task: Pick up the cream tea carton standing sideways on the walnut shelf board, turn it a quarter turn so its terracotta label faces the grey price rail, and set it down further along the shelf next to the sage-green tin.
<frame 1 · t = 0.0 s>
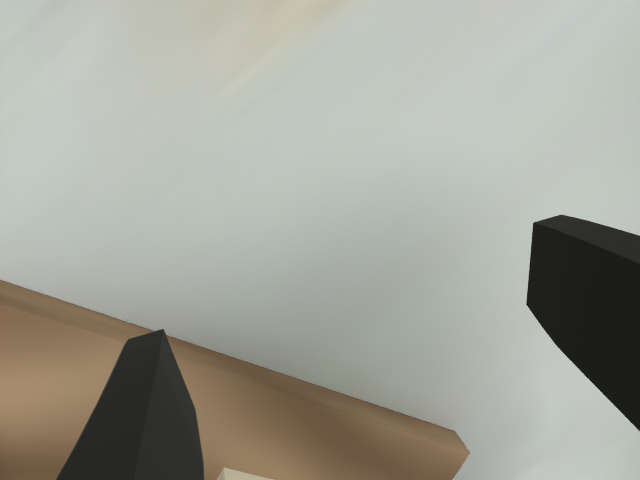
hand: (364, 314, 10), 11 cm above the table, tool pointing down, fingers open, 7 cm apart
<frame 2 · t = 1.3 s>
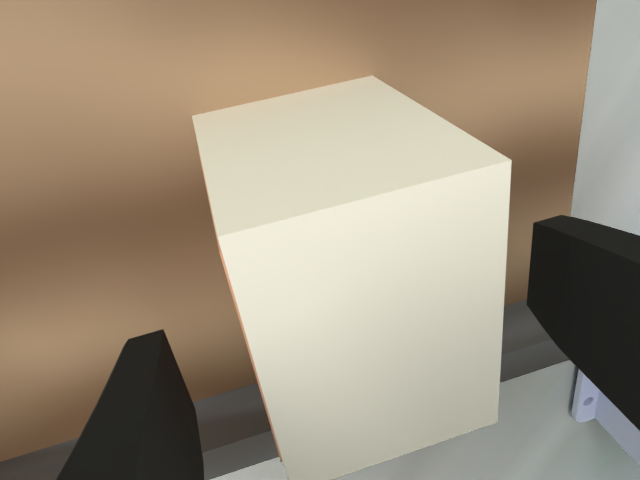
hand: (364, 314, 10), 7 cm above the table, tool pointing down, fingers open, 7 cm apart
tea carton: (222, 225, 14), point 1 cm above the table, touching shelf board
shelf board: (156, 217, 15), on the table
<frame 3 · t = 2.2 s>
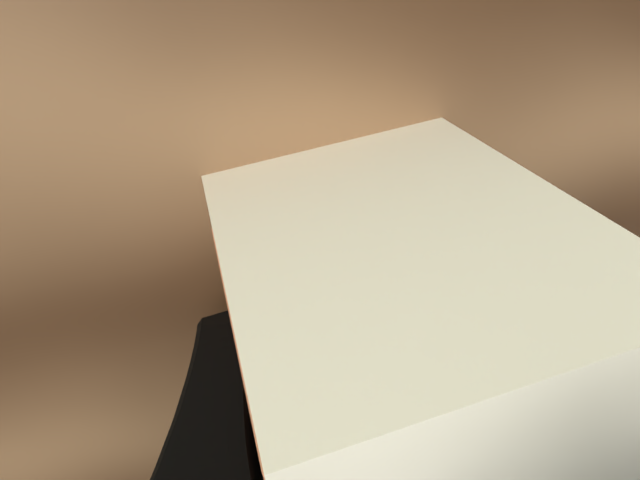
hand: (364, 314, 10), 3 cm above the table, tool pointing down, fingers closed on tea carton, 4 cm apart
tea carton: (240, 310, 11), point 1 cm above the table, touching gripper, shelf board
shelf board: (152, 292, 11), on the table
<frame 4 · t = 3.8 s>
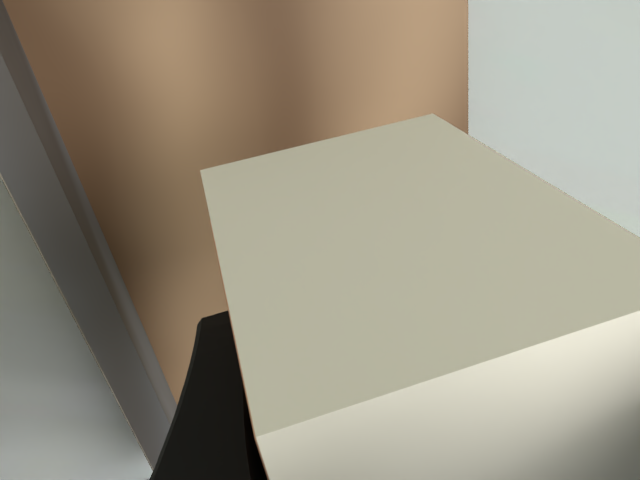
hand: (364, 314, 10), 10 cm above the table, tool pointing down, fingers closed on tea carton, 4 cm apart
tea carton: (238, 301, 11), point 8 cm above the table, touching gripper
shelf board: (261, 132, 18), on the table
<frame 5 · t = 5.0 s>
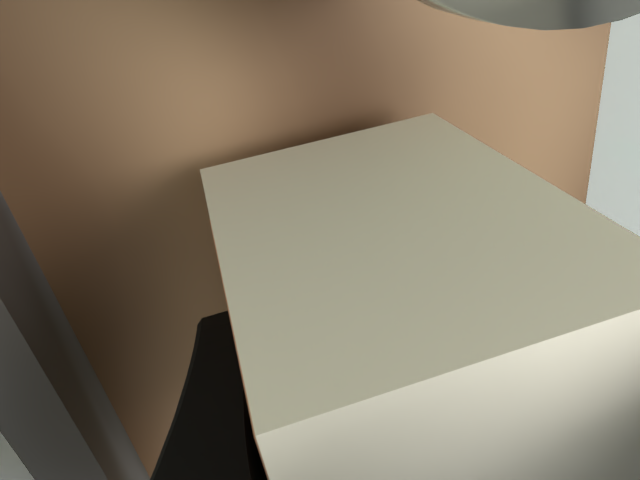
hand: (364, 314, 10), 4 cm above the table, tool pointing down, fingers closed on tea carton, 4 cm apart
tea carton: (238, 301, 11), point 3 cm above the table, touching gripper
shelf board: (315, 251, 14), on the table
when the fingers open (4 cm above the table, at t = 5.6 s): tea carton stays where it is, resting on shelf board.
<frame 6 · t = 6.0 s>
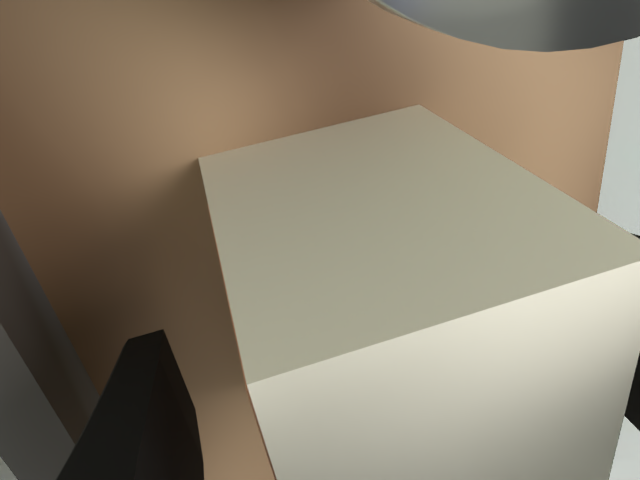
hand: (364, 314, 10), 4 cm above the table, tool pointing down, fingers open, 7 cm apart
tea carton: (235, 284, 11), point 1 cm above the table, touching shelf board
shelf board: (319, 258, 13), on the table
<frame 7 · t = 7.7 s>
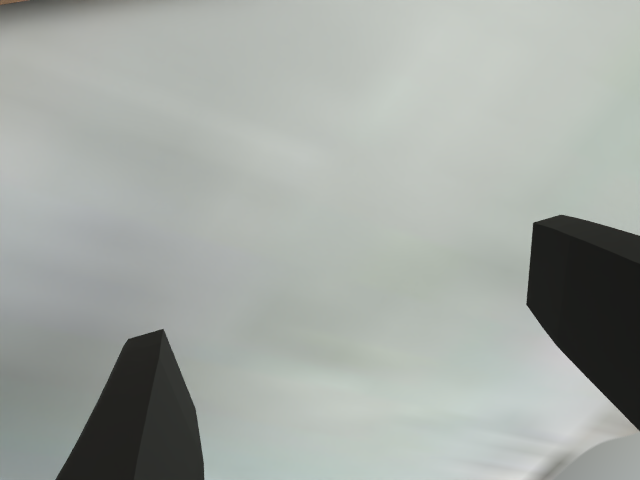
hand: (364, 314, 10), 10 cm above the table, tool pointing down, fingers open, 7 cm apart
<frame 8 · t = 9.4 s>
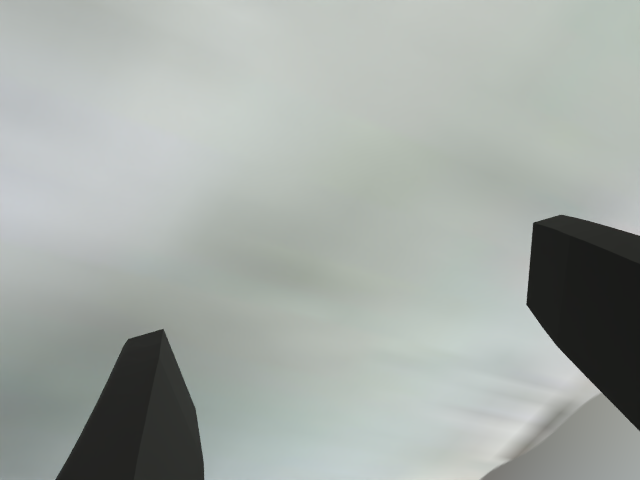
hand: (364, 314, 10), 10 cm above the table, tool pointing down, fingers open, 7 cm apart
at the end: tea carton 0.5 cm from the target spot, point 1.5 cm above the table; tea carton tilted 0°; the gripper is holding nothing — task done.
